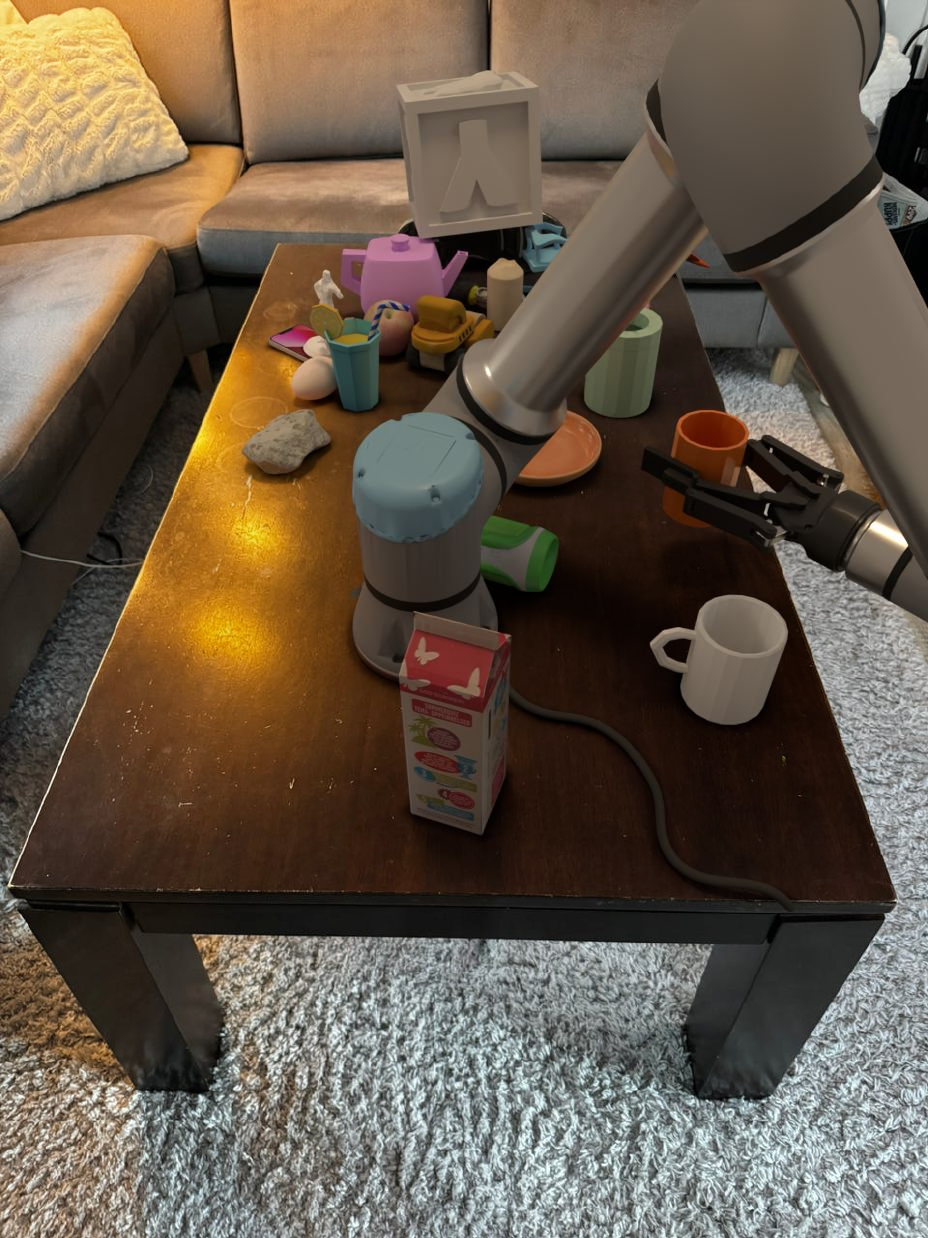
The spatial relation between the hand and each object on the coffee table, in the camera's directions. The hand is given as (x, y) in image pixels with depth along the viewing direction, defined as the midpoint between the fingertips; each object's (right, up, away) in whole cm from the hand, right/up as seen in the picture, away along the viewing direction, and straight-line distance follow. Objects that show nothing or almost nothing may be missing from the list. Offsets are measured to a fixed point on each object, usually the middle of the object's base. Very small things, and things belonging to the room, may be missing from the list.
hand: (667, 442), depth 97 cm
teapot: (-31, +30, +48) cm, 65 cm away
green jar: (0, +12, +30) cm, 32 cm away
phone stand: (-9, +34, +52) cm, 63 cm away
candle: (-16, +28, +46) cm, 56 cm away
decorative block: (-20, +46, +49) cm, 70 cm away
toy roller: (-24, +20, +39) cm, 50 cm away
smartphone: (-38, +18, +37) cm, 56 cm away
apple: (-32, +23, +41) cm, 57 cm away
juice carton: (-22, -35, -16) cm, 44 cm away
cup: (-36, +12, +31) cm, 49 cm away
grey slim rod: (-40, +27, +46) cm, 67 cm away
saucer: (-12, +2, +20) cm, 24 cm away
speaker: (-22, -12, -1) cm, 25 cm away
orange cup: (+3, -7, +2) cm, 8 cm away
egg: (-40, +17, +32) cm, 54 cm away
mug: (+2, -27, -8) cm, 28 cm away
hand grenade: (-26, +36, +51) cm, 68 cm away
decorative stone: (-45, +2, +22) cm, 50 cm away
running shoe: (-19, +44, +55) cm, 73 cm away
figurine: (-43, +21, +38) cm, 61 cm away
